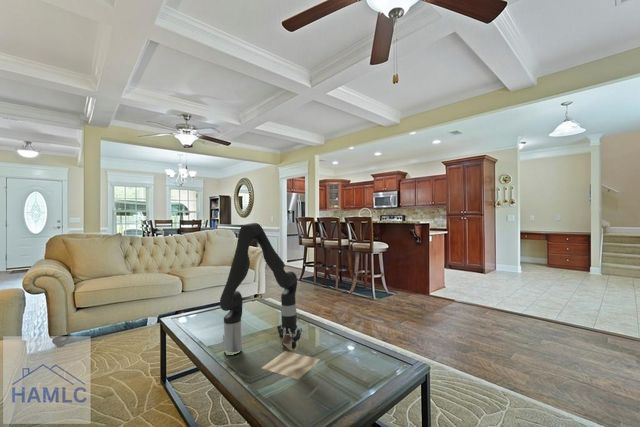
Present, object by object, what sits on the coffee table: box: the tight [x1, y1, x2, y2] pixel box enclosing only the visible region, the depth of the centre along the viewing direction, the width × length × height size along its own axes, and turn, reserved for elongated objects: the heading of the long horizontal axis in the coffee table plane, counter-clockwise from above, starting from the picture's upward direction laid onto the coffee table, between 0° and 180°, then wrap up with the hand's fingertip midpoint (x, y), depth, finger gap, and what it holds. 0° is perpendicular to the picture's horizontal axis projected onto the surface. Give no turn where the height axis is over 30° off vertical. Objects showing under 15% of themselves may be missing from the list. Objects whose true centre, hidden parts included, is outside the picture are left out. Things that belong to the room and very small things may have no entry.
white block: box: [281, 335, 300, 352], centre depth 143 cm, size 4×4×9 cm
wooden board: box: [261, 350, 321, 380], centre depth 144 cm, size 22×20×1 cm
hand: (290, 347), depth 142 cm, fingers closed on white block, 4 cm apart
